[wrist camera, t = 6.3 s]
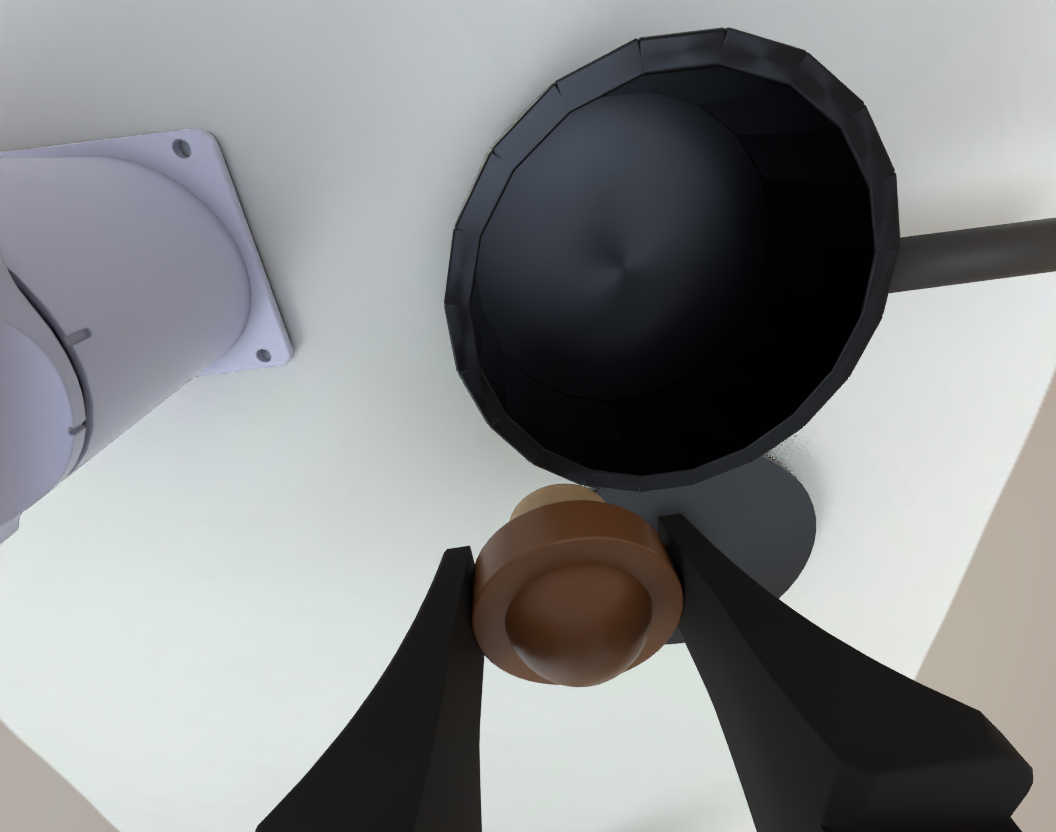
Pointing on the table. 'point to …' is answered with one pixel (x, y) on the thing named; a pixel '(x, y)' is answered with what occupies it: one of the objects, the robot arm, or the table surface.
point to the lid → (740, 519)
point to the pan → (672, 260)
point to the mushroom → (573, 590)
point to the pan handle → (975, 255)
